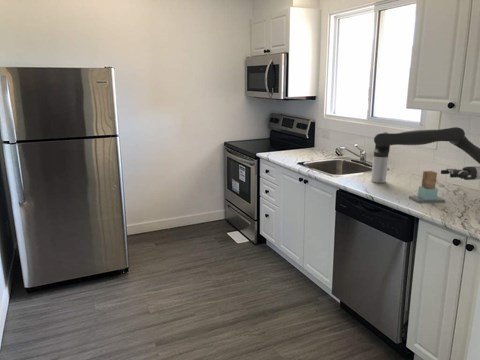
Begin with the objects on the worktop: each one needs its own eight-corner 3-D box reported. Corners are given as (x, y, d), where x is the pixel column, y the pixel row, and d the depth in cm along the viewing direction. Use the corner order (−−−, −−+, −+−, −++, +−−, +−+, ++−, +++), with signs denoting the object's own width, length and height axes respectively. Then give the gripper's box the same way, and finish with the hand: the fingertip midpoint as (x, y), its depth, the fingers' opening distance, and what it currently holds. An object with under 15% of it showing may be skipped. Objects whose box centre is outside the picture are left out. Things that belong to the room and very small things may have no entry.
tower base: (409, 198, 223) (410, 185, 221) (435, 197, 225) (437, 185, 223) (417, 202, 214) (419, 190, 213) (444, 201, 216) (446, 189, 214)
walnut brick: (421, 186, 220) (423, 171, 218) (429, 186, 220) (431, 170, 218) (426, 188, 215) (428, 173, 213) (435, 188, 216) (437, 172, 213)
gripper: (465, 164, 224) (439, 164, 222) (482, 169, 210) (454, 169, 209) (464, 176, 225) (437, 177, 224) (480, 182, 212) (452, 183, 210)
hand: (445, 173), depth 216 cm, fingers open, 8 cm apart
